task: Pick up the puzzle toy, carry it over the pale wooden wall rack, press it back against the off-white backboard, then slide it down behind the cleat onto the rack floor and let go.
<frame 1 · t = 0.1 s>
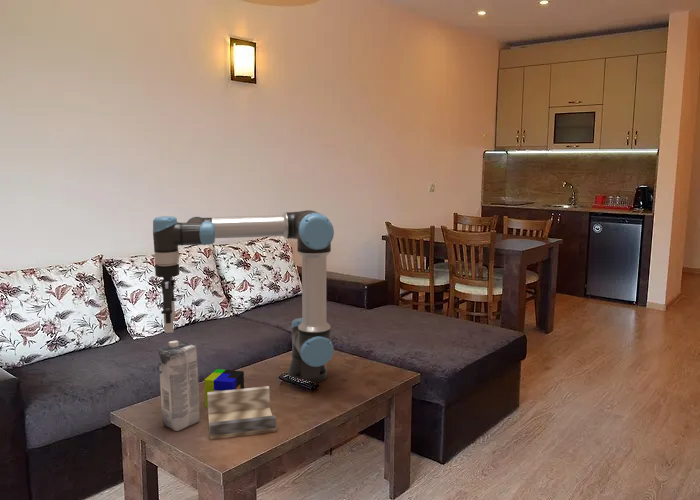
hand: (170, 326, 195), 28 cm above the table, tool pointing down, fingers open, 13 cm apart
wall rack: (241, 423, 187), on the table
puzzle toy: (225, 403, 202), on the table
juice carton: (181, 424, 186), on the table
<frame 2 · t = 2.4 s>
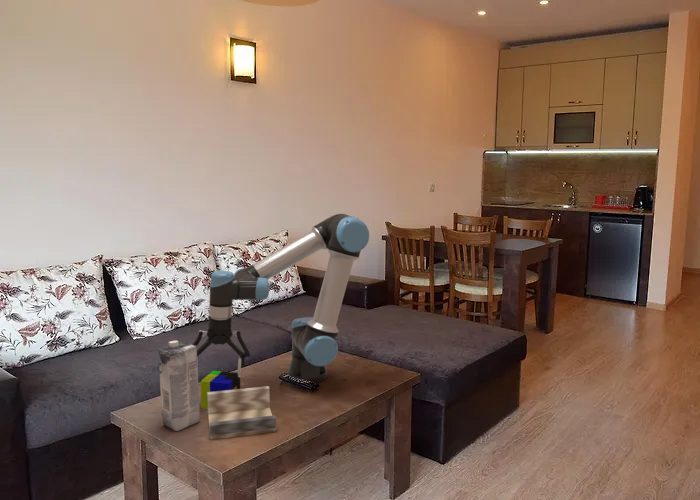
hand: (217, 377, 200), 9 cm above the table, tool pointing down, fingers open, 14 cm apart
puzzle toy: (221, 405, 202), on the table, touching gripper
everything else where it was.
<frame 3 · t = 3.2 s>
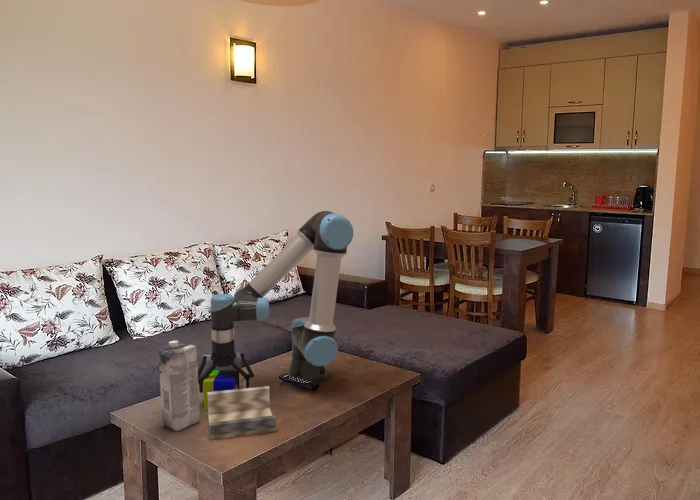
hand: (224, 399, 202), 1 cm above the table, tool pointing down, fingers open, 13 cm apart
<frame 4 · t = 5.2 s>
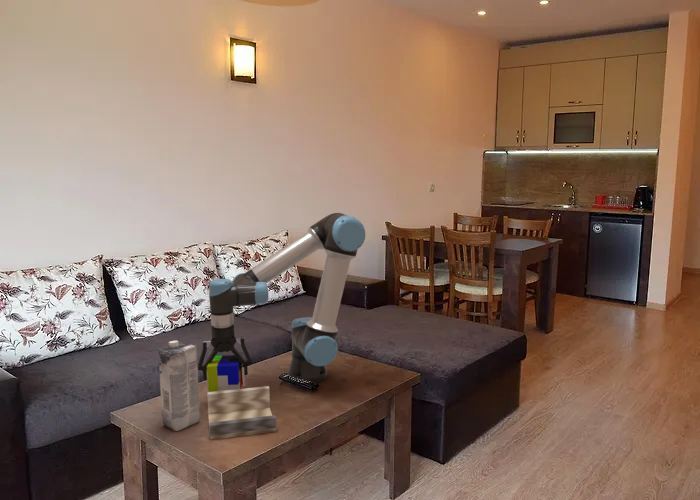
hand: (226, 386, 201), 6 cm above the table, tool pointing down, fingers closed on puzzle toy, 11 cm apart
puzzle toy: (226, 388, 201), point 5 cm above the table, touching gripper
everything else where it was.
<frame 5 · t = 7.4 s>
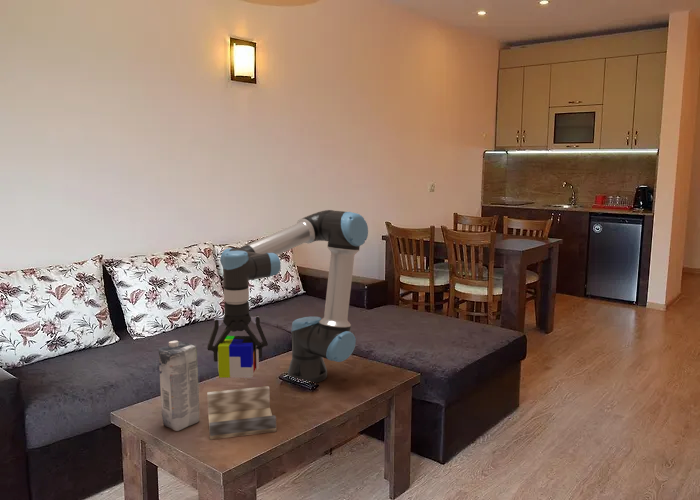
hand: (238, 369, 183), 18 cm above the table, tool pointing down, fingers closed on puzzle toy, 11 cm apart
puzzle toy: (238, 372, 183), point 17 cm above the table, touching gripper
everything else where it was.
when the fingers open (3 cm above the table, at t = 11.0 s): puzzle toy drops 1 cm, resting on wall rack.
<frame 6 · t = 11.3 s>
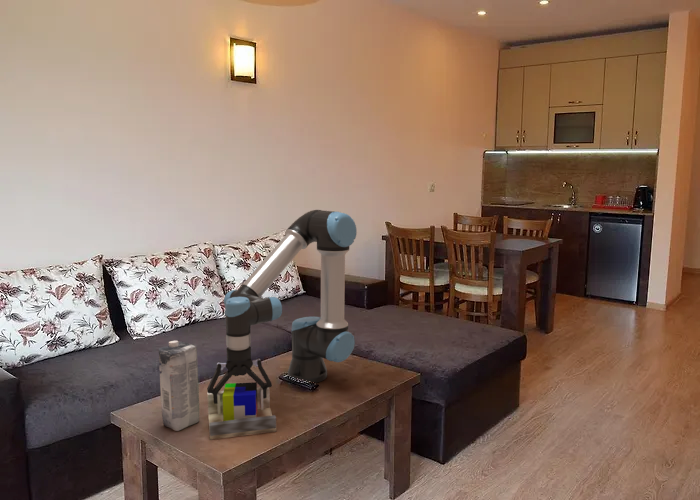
hand: (240, 410, 187), 4 cm above the table, tool pointing down, fingers open, 13 cm apart
puzzle toy: (241, 419, 187), point 1 cm above the table, touching wall rack
everything else where it was.
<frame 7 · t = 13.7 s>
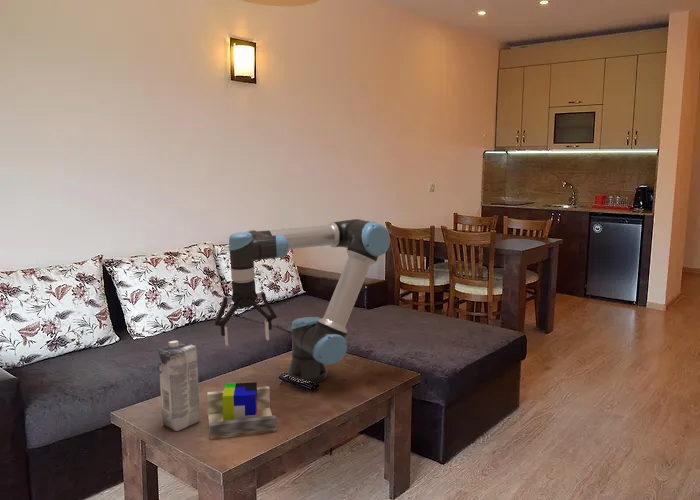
hand: (247, 342, 195), 23 cm above the table, tool pointing down, fingers open, 13 cm apart
nothing on the table moved.
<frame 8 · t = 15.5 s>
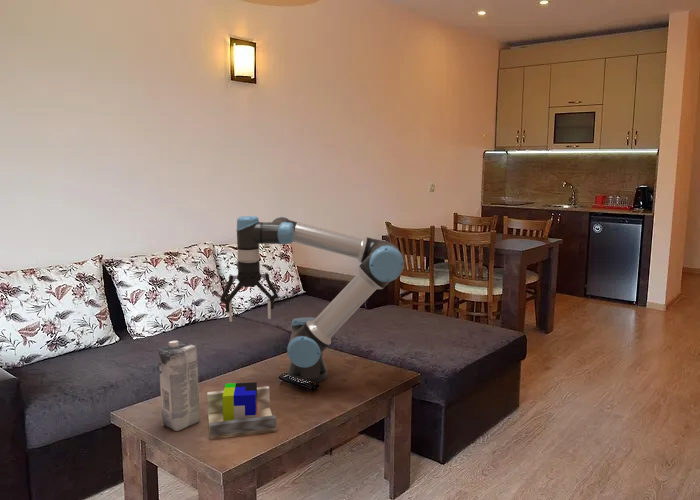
hand: (250, 319, 208), 27 cm above the table, tool pointing down, fingers open, 13 cm apart
nothing on the table moved.
at the end: puzzle toy inside the target area on the wall rack (0.2 cm from its centre), point 1.0 cm above the wall rack's base; puzzle toy tilted 0°; the gripper is holding nothing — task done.
